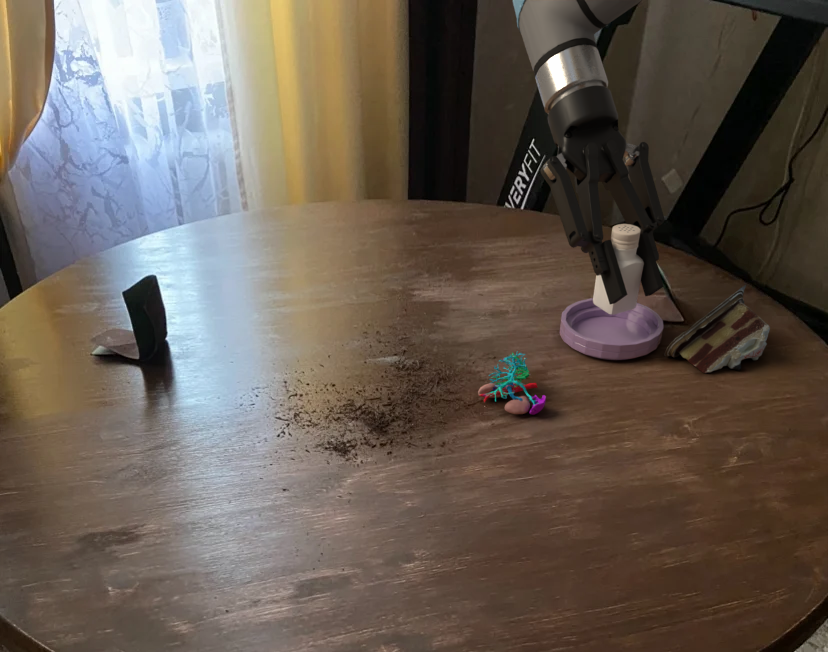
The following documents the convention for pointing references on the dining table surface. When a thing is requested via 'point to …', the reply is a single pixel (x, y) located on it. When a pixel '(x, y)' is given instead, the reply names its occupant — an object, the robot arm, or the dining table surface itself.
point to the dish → (611, 331)
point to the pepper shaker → (622, 270)
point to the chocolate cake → (723, 336)
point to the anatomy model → (513, 388)
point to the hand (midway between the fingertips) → (636, 295)
